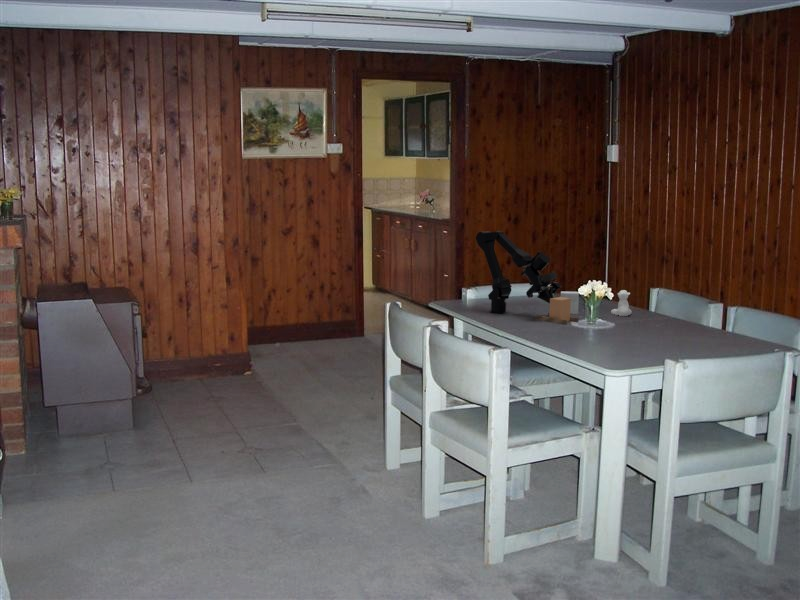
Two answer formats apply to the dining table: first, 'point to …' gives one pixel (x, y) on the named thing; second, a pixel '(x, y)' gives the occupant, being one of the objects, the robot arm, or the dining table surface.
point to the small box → (572, 300)
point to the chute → (555, 320)
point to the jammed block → (560, 308)
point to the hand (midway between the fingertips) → (554, 304)
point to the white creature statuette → (622, 304)
